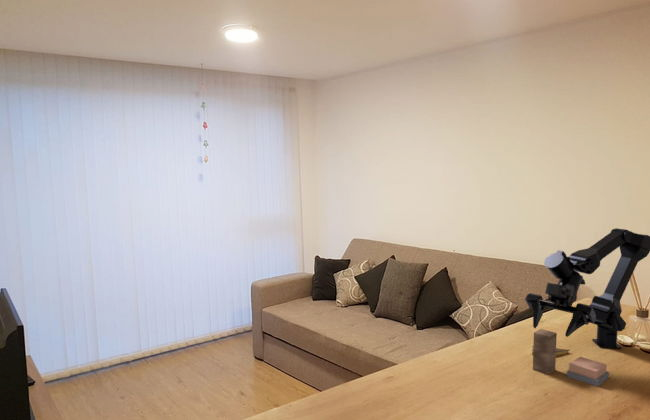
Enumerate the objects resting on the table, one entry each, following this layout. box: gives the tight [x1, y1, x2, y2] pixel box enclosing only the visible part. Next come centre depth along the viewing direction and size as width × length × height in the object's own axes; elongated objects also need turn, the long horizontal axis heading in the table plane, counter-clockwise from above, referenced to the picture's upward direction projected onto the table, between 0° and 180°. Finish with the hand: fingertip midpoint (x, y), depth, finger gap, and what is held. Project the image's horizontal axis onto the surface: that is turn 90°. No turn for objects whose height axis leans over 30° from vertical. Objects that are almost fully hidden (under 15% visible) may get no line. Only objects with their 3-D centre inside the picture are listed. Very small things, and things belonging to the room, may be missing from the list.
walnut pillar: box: [532, 328, 558, 375], centre depth 136 cm, size 4×4×11 cm
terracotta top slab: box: [568, 356, 608, 379], centre depth 131 cm, size 7×7×2 cm
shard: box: [531, 345, 571, 357], centre depth 146 cm, size 11×8×2 cm
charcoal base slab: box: [566, 369, 610, 387], centre depth 131 cm, size 8×8×2 cm
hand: (549, 331), depth 137 cm, fingers open, 9 cm apart
